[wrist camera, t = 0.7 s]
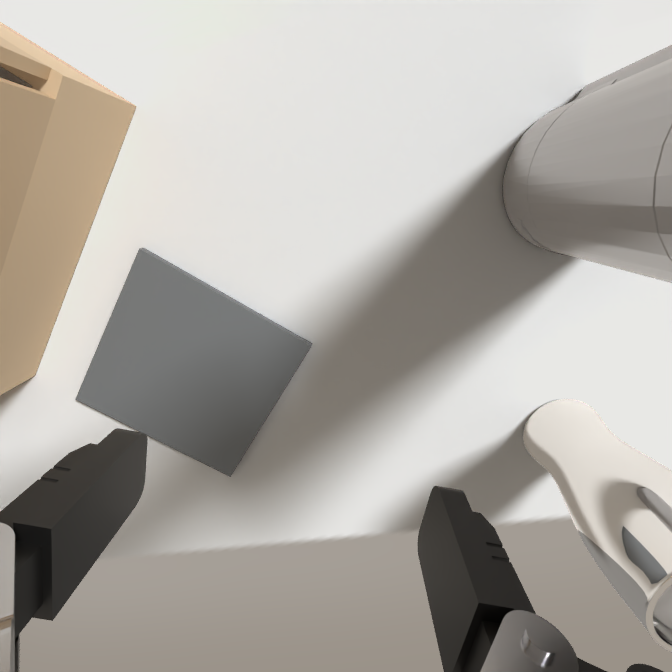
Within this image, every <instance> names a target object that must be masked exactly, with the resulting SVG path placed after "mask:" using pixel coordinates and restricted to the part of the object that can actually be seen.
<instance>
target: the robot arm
mask: <svg viewBox="0 0 672 672" xmlns="http://www.w3.org/2000/svg"><path fill="white" fill-rule="evenodd" d="M503 198H504V204H505V209H506V212H507V214H508V217H509V219H510V222H511V223H512V225H513V226H514V227H515V229H516V230H517V232H518V233H519V234H520V235H521V236H523V237H524V238H525V239H526V240H527V241H528V242H530V243H532V244H534V245H536V246H538V247H540V248H543V249H547V250H549V251H552V252H555V253H559V254H562V255H568V256H573V257H576V258H580V259H583V260H587V261H591V262H595V263H599V264H602V265H606V266H610V267H614V268H617V269H621V270H625V271H629V272H632V273H636V274H640V275H644V276H648V277H651V278H655V279H659V280H663V281H666V282H670V283H672V45H670V46H668V47H666V48H664V49H662V50H660V51H658V52H656V53H654V54H651V55H649V56H647V57H645V58H643V59H641V60H639V61H637V62H635V63H633V64H630V65H628V66H626V67H624V68H622V69H620V70H618V71H616V72H614V73H611V74H609V75H607V76H605V77H603V78H601V79H599V80H597V81H595V82H593V83H590V84H588V85H586V86H585V87H584V88H583V89H582V91H581V92H580V94H579V95H578V96H577V97H576V98H575V99H574V100H573V101H572V102H570V103H568V104H566V105H563V106H561V107H559V108H556V109H554V110H552V111H550V112H549V113H547V114H546V115H544V116H543V117H541V118H540V119H538V120H537V121H536V122H535V123H534V124H533V125H532V126H531V127H530V128H529V129H528V130H527V131H526V132H525V133H524V134H523V136H522V137H521V139H520V140H519V142H518V143H517V144H516V146H515V147H514V150H513V152H512V154H511V156H510V158H509V161H508V163H507V167H506V171H505V175H504V180H503ZM146 455H147V435H146V434H145V433H140V432H135V431H129V430H123V429H115V430H113V431H112V432H111V433H110V434H109V435H108V436H107V437H106V438H104V439H103V440H102V441H101V442H100V443H99V444H98V445H96V444H91V443H90V444H88V445H86V446H83V447H81V448H79V449H77V450H75V451H73V452H70V453H69V454H68V455H66V456H65V457H64V458H63V459H62V460H61V461H59V462H58V463H57V464H56V465H55V466H54V468H53V469H50V470H49V471H48V472H46V473H45V474H44V475H43V476H42V477H41V479H40V480H37V481H36V482H35V483H34V484H32V485H31V486H30V487H29V488H28V489H27V490H25V491H24V492H23V493H22V494H21V495H20V496H18V497H17V498H16V499H15V500H14V501H12V502H11V503H10V504H9V505H8V506H7V507H5V508H4V509H3V510H2V511H1V512H0V672H19V651H20V649H19V648H20V643H19V642H20V639H19V633H20V632H21V631H22V629H23V628H24V627H25V626H26V624H27V623H28V622H29V621H30V619H31V618H32V617H33V618H34V617H35V618H40V619H46V620H52V621H53V619H54V618H55V616H56V615H57V614H58V612H59V611H60V610H61V608H62V607H63V606H64V604H65V603H66V601H67V600H68V599H69V597H70V596H71V594H72V593H73V592H74V590H75V589H76V588H77V586H78V585H79V583H80V582H81V581H82V579H83V578H84V576H85V575H86V574H87V572H88V571H89V570H90V568H91V567H92V566H93V564H94V563H95V561H96V560H97V559H98V557H99V556H100V555H101V553H102V552H103V550H104V549H105V548H106V546H107V545H108V544H109V542H110V541H111V539H112V538H113V537H114V535H115V534H116V533H117V531H118V530H119V528H120V527H121V526H122V524H123V523H124V521H125V520H126V519H127V517H128V516H129V515H130V513H131V512H132V510H133V509H134V508H135V506H136V505H137V503H138V501H139V499H140V497H141V494H142V491H143V488H144V483H145V470H146ZM418 555H419V560H420V564H421V569H422V574H423V578H424V582H425V587H426V592H427V596H428V601H429V605H430V610H431V615H432V619H433V624H434V628H435V633H436V637H437V642H438V646H439V651H440V656H441V660H442V665H443V669H444V672H607V671H604V670H602V669H600V668H598V667H596V666H593V665H591V664H589V663H587V662H585V661H583V660H581V659H579V658H577V656H576V654H575V652H574V650H573V648H572V646H571V645H570V643H569V642H568V640H567V639H566V638H565V637H564V635H563V634H562V633H561V632H560V631H559V630H558V629H557V628H556V627H555V626H553V625H552V624H551V623H549V622H548V621H547V620H545V619H544V618H542V617H540V616H538V615H536V613H535V611H534V610H533V607H532V605H531V603H530V601H529V599H528V597H527V595H526V593H525V591H524V589H523V586H522V584H521V582H520V580H519V578H518V576H517V574H516V572H515V570H514V568H513V566H512V564H511V562H509V558H508V556H507V553H506V551H505V549H504V548H502V543H501V541H500V539H499V537H498V535H497V533H496V531H495V529H494V527H493V526H492V525H491V524H490V523H489V522H488V521H487V520H486V519H485V518H484V517H483V515H482V514H481V513H477V512H472V510H471V508H470V505H469V503H468V501H467V498H466V496H465V494H464V492H463V491H462V490H456V489H451V488H445V487H439V486H434V487H433V489H432V491H431V494H430V497H429V501H428V504H427V507H426V510H425V514H424V517H423V520H422V524H421V527H420V530H419V536H418ZM626 672H663V671H661V670H659V669H657V668H654V667H652V666H649V665H645V664H634V665H631V666H630V667H629V668H628V669H627V671H626Z"/></svg>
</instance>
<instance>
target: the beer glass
mask: <svg viewBox="0 0 672 672" xmlns="http://www.w3.org/2000/svg"><path fill="white" fill-rule="evenodd" d="M523 442H524V445H525V448H526V450H527V451H528V453H529V454H530V455H531V456H532V457H533V458H534V459H535V460H536V461H537V462H538V463H539V464H540V465H542V466H543V467H544V468H545V469H546V470H547V471H548V472H549V473H550V475H551V476H552V477H553V479H554V481H555V482H556V484H557V486H558V489H559V491H560V493H561V495H562V498H563V500H564V502H565V505H566V507H567V509H568V512H569V514H570V516H571V518H572V521H573V523H574V525H575V527H576V529H577V531H578V533H579V535H580V537H581V539H582V541H583V543H584V545H585V546H586V548H587V550H588V551H589V553H590V554H591V556H592V557H593V559H594V561H595V562H596V564H597V565H598V567H599V568H600V570H601V571H602V572H603V574H604V575H605V576H606V578H607V579H608V581H609V582H610V584H611V585H612V586H613V588H614V589H615V590H616V591H617V593H618V594H619V595H620V597H621V598H622V599H623V600H624V602H625V603H626V604H627V606H628V607H629V608H630V609H631V611H632V612H633V613H634V614H635V616H636V617H637V618H638V619H639V621H640V622H641V623H642V624H643V626H644V627H645V628H646V630H647V631H648V633H649V635H650V636H651V638H652V639H653V640H654V641H655V642H656V643H657V644H658V645H660V646H661V647H662V648H664V649H666V650H667V651H669V652H671V653H672V470H670V469H669V468H667V467H666V466H664V465H662V464H661V463H659V462H657V461H656V460H654V459H652V458H650V457H649V456H647V455H645V454H644V453H642V452H640V451H638V450H637V449H635V448H633V447H632V446H630V445H628V444H627V443H625V442H624V441H622V440H621V439H619V438H618V437H617V436H615V435H614V434H613V433H612V432H611V431H610V430H609V428H608V427H607V426H606V424H605V423H604V421H603V420H602V418H601V417H600V416H599V414H598V413H597V412H596V411H595V410H594V409H593V408H592V407H591V406H590V405H588V404H586V403H584V402H582V401H579V400H575V399H560V400H555V401H552V402H549V403H547V404H545V405H543V406H541V407H540V408H538V409H537V410H536V411H535V412H534V413H533V414H532V415H531V416H530V417H529V419H528V420H527V422H526V424H525V427H524V431H523Z"/></svg>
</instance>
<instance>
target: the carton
mask: <svg viewBox="0 0 672 672" xmlns="http://www.w3.org/2000/svg"><path fill="white" fill-rule="evenodd" d="M0 66H1V67H2V68H4V69H6V70H7V71H9V72H11V73H12V74H14V75H16V76H17V77H19V78H21V79H22V80H24V81H26V82H27V83H29V84H30V85H32V88H29V87H26V86H23V85H20V84H17V83H14V82H11V81H8V80H6V79H3V78H0V395H2V394H3V393H5V392H7V391H9V390H11V389H12V388H14V387H16V386H18V385H19V384H21V383H23V382H25V381H27V380H28V379H30V378H32V377H34V376H35V375H36V372H37V369H38V367H39V364H40V361H41V359H42V356H43V353H44V351H45V348H46V345H47V343H48V340H49V337H50V335H51V332H52V329H53V327H54V324H55V321H56V319H57V316H58V313H59V311H60V308H61V305H62V303H63V300H64V297H65V295H66V292H67V289H68V287H69V284H70V282H71V279H72V276H73V274H74V271H75V268H76V266H77V263H78V260H79V258H80V255H81V252H82V250H83V247H84V244H85V242H86V239H87V236H88V234H89V231H90V228H91V226H92V223H93V220H94V218H95V215H96V212H97V210H98V207H99V204H100V202H101V199H102V196H103V194H104V191H105V188H106V186H107V183H108V181H109V178H110V175H111V173H112V170H113V167H114V165H115V162H116V159H117V157H118V154H119V151H120V149H121V146H122V143H123V141H124V138H125V135H126V133H127V130H128V127H129V125H130V122H131V119H132V117H133V114H134V111H135V109H136V106H135V105H133V104H132V103H130V102H128V101H127V100H125V99H124V98H122V97H120V96H119V95H117V94H115V93H114V92H112V91H111V90H109V89H107V88H106V87H104V86H103V85H101V84H99V83H98V82H96V81H95V80H93V79H91V78H90V77H88V76H86V75H85V74H83V73H82V72H80V71H78V70H77V69H75V68H74V67H72V66H70V65H69V64H67V63H65V62H64V61H62V60H61V59H59V58H57V57H56V56H54V55H53V54H51V53H49V52H48V51H46V50H45V49H43V48H41V47H40V46H38V45H36V44H35V43H33V42H32V41H30V40H28V39H27V38H25V37H24V36H22V35H20V34H19V33H17V32H15V31H14V30H12V29H11V28H9V27H7V26H6V25H4V24H3V23H1V22H0Z"/></svg>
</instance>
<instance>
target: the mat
mask: <svg viewBox="0 0 672 672" xmlns="http://www.w3.org/2000/svg"><path fill="white" fill-rule="evenodd" d="M311 346H312V343H310V342H308V341H307V340H305V339H303V338H301V337H299V336H298V335H296V334H294V333H292V332H291V331H289V330H287V329H285V328H284V327H282V326H280V325H278V324H277V323H275V322H273V321H271V320H270V319H268V318H266V317H264V316H263V315H261V314H259V313H257V312H256V311H254V310H252V309H250V308H248V307H247V306H245V305H243V304H241V303H240V302H238V301H236V300H234V299H233V298H231V297H229V296H227V295H226V294H224V293H222V292H220V291H219V290H217V289H215V288H213V287H212V286H210V285H208V284H206V283H205V282H203V281H201V280H199V279H197V278H196V277H194V276H192V275H190V274H189V273H187V272H185V271H183V270H182V269H180V268H178V267H176V266H175V265H173V264H171V263H169V262H168V261H166V260H164V259H162V258H161V257H159V256H157V255H155V254H154V253H152V252H150V251H148V250H147V249H145V248H141V249H139V251H138V253H137V256H136V258H135V260H134V263H133V265H132V267H131V270H130V272H129V274H128V277H127V279H126V282H125V284H124V286H123V289H122V291H121V293H120V296H119V298H118V300H117V303H116V305H115V308H114V310H113V312H112V315H111V317H110V319H109V322H108V324H107V326H106V329H105V331H104V333H103V336H102V338H101V341H100V343H99V345H98V348H97V350H96V352H95V355H94V357H93V359H92V362H91V364H90V366H89V369H88V371H87V374H86V376H85V378H84V381H83V383H82V385H81V388H80V390H79V392H78V395H77V397H76V400H78V401H80V402H82V403H84V404H86V405H88V406H90V407H92V408H94V409H96V410H98V411H100V412H102V413H104V414H106V415H108V416H110V417H112V418H114V419H116V420H118V421H120V422H122V423H124V424H126V425H128V426H130V427H132V428H134V429H136V430H138V431H140V432H142V433H145V434H146V435H148V436H150V437H152V438H154V439H156V440H158V441H160V442H162V443H164V444H166V445H168V446H170V447H172V448H174V449H176V450H178V451H180V452H182V453H184V454H186V455H188V456H190V457H192V458H194V459H196V460H198V461H200V462H202V463H204V464H206V465H208V466H210V467H212V468H214V469H216V470H218V471H220V472H222V473H224V474H226V475H228V476H230V477H231V475H232V473H233V472H234V470H235V469H236V467H237V465H238V464H239V462H240V461H241V459H242V457H243V456H244V454H245V452H246V451H247V449H248V448H249V446H250V444H251V443H252V441H253V440H254V438H255V436H256V435H257V433H258V431H259V430H260V428H261V427H262V425H263V423H264V422H265V420H266V419H267V417H268V415H269V414H270V412H271V411H272V409H273V407H274V406H275V404H276V402H277V401H278V399H279V398H280V396H281V394H282V393H283V391H284V390H285V388H286V386H287V385H288V383H289V381H290V380H291V378H292V377H293V375H294V373H295V372H296V370H297V369H298V367H299V365H300V364H301V362H302V361H303V359H304V357H305V356H306V354H307V352H308V351H309V349H310V348H311Z"/></svg>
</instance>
